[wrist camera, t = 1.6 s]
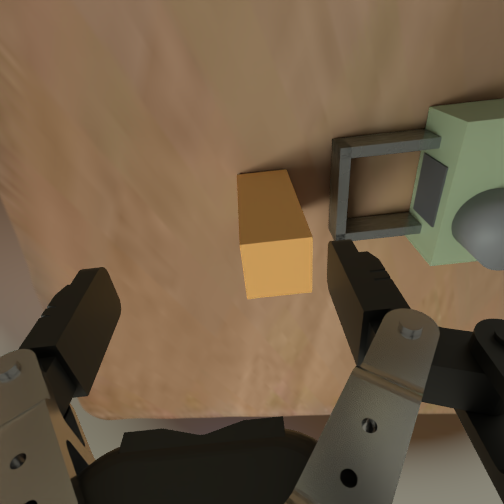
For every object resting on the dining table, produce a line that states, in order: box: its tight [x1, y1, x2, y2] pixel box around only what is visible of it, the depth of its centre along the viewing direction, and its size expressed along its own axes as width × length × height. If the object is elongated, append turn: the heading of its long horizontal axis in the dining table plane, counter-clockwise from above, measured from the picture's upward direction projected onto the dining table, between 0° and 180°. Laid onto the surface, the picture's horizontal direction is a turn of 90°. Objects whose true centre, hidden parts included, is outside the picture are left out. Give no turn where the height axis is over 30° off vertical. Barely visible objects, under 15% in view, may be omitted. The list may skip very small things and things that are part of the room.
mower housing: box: [405, 98, 504, 270], centre depth 30 cm, size 14×7×10 cm, turn 6°
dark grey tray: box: [329, 129, 442, 241], centre depth 33 cm, size 10×9×3 cm
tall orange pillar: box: [237, 169, 313, 299], centre depth 29 cm, size 5×5×13 cm
